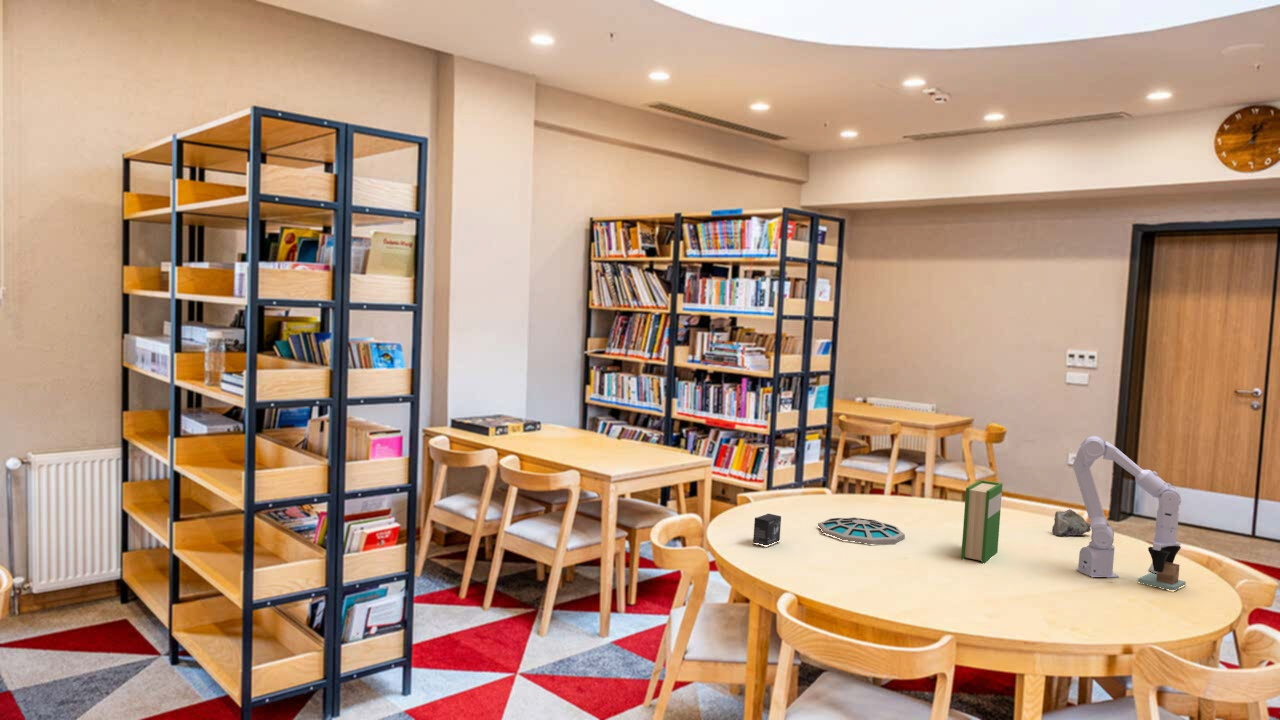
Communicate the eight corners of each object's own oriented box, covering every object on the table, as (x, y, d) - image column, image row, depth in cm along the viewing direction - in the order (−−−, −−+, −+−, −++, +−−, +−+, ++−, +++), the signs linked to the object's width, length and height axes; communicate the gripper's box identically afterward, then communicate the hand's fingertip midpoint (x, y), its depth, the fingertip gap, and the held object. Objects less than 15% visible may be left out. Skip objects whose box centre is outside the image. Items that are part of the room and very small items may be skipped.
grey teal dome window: (913, 548, 295) (914, 534, 294) (828, 544, 295) (829, 530, 295) (889, 525, 325) (890, 512, 325) (812, 521, 326) (813, 509, 326)
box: (767, 548, 286) (768, 520, 285) (752, 545, 289) (753, 517, 288) (780, 543, 293) (781, 515, 292) (765, 539, 296) (767, 512, 296)
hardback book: (984, 563, 279) (989, 491, 278) (961, 559, 283) (966, 487, 282) (997, 552, 293) (1002, 483, 292) (975, 548, 298) (979, 480, 296)
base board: (1173, 592, 258) (1174, 587, 258) (1137, 583, 265) (1138, 578, 265) (1185, 586, 264) (1185, 581, 264) (1149, 577, 272) (1150, 572, 272)
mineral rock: (1090, 535, 323) (1092, 509, 322) (1090, 542, 313) (1092, 515, 313) (1052, 529, 329) (1054, 504, 328) (1051, 536, 320) (1053, 509, 319)
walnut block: (1172, 584, 260) (1174, 567, 260) (1156, 580, 264) (1157, 563, 264) (1178, 582, 263) (1179, 564, 263) (1161, 578, 267) (1163, 560, 266)
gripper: (1172, 532, 256) (1168, 577, 257) (1189, 526, 265) (1185, 569, 266) (1147, 527, 261) (1143, 570, 262) (1163, 521, 271) (1160, 563, 272)
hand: (1162, 569), depth 265 cm, fingers open, 7 cm apart
